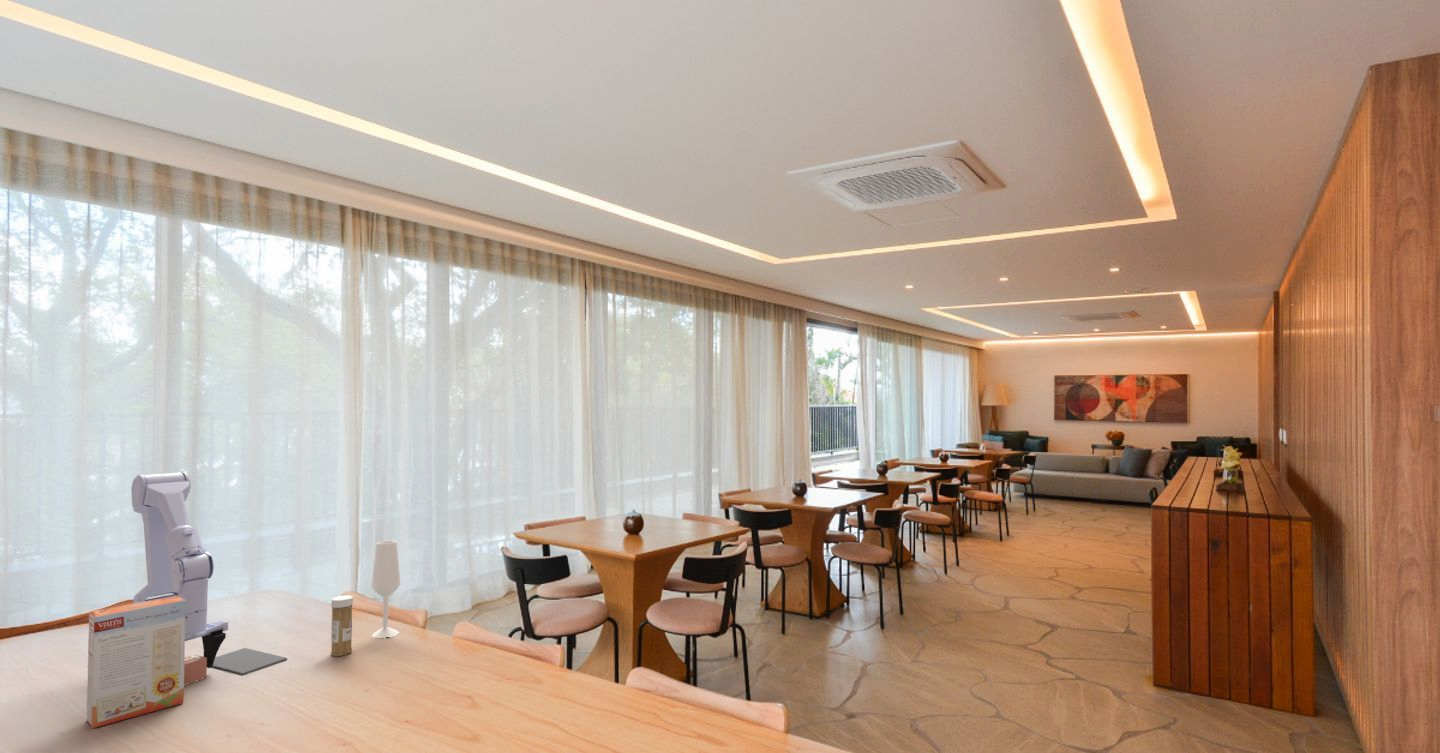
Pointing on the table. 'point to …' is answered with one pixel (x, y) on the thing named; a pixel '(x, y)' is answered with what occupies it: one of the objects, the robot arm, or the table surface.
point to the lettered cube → (194, 668)
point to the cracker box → (135, 659)
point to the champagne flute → (386, 580)
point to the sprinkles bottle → (341, 625)
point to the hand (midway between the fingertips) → (189, 673)
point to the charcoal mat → (246, 660)
